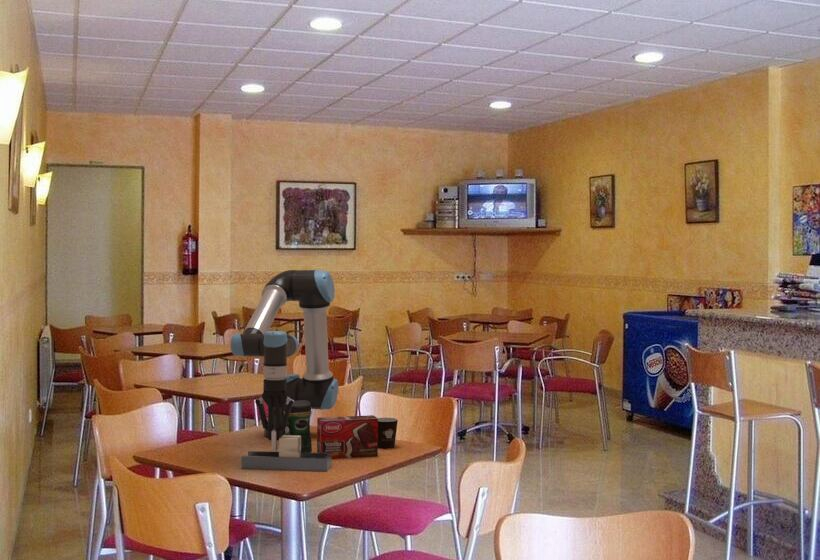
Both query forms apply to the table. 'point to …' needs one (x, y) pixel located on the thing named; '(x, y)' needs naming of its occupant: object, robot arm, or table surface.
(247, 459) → the chute
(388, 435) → the coffee mug
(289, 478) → the table surface
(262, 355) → the robot arm
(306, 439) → the coffee jar
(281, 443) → the block
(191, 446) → the table surface
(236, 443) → the table surface
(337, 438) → the ice cream box
